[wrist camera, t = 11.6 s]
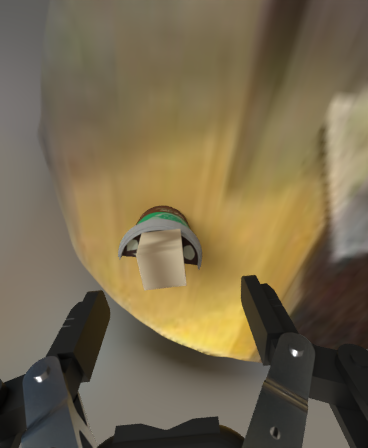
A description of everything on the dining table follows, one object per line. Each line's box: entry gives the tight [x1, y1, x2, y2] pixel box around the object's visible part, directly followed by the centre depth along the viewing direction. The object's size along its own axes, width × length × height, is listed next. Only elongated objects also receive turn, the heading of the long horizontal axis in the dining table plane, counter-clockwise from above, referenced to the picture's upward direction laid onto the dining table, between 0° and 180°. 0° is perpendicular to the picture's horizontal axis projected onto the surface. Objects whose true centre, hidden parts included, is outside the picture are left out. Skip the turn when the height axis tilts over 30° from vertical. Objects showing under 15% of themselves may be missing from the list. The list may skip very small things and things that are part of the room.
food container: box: [118, 206, 202, 269], centre depth 33 cm, size 12×6×10 cm, turn 79°
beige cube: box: [136, 229, 186, 290], centre depth 26 cm, size 5×5×5 cm
